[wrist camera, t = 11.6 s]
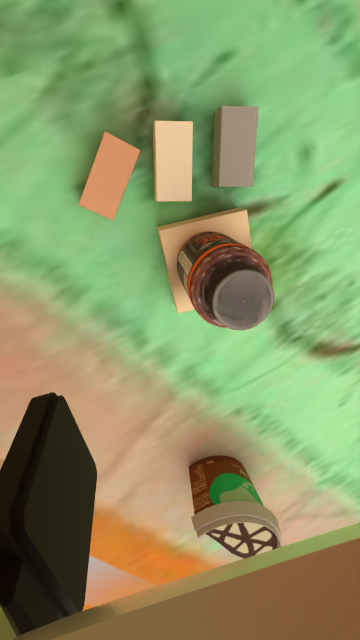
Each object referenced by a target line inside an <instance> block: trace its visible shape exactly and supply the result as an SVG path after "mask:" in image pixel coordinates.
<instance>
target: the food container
mask: <svg viewBox="0 0 360 640" xmlns="http://www.w3.org/2000/svg"><path fill="white" fill-rule="evenodd" d="M189 473H190V482H191V490H192V498H193V506H194V514H195V515H194V516H193V517H191V518H192V522H193V525H194V528H195V531H197V536H198V538H199V537H201V536H202V535H204V534H207V535H208V536H210V537H212V538H213V539H215V540H216V541H217V542H219V543H220V544H221V545H222V546H223V547H225V548H226V549H227V550H229V551H230V552H231V553H233V554H235V555H237V556H239V557H242V558H244V559H245V558H248V557H251V556H255V555H258V554H261V553H264V552H267V551H270V550H274V549H277V548H280V547H281V543H282V540H281V534H280V529H279V524H278V521H277V519H276V517H275V516H274V514H273V513H272V512H271V511H270V510H269V509H267V508H266V507H264V505H263V503H262V501H261V499H260V498H259V496H258V494H257V492H256V490H255V488H254V486H253V484H252V482H251V480H250V478H249V476H248V474H247V472H246V470H245V468H244V467H243V465H242V464H241V463H240V462H239V461H238V460H236V459H234V458H231V457H228V456H211V457H207V458H204V459H201V460H199V461H197V462H195V463H194V464H192V465H191V466H190V467H189Z"/></svg>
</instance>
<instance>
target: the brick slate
mask: <svg viewBox="0 0 360 640" xmlns="http://www.w3.org/2000/svg"><path fill="white" fill-rule="evenodd" d="M257 120H258V107H249V106H221V107H220V108H219V109H218V110H217V111H216V112H214V133H213V164H212V187H253V174H254V161H255V147H256V134H257Z"/></svg>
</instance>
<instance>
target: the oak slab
mask: <svg viewBox="0 0 360 640" xmlns="http://www.w3.org/2000/svg"><path fill="white" fill-rule="evenodd" d="M157 231H158V235H159V239H160V244H161V248H162V252H163V256H164V261H165V265H166V269H167V274H168V278H169V282H170V286H171V291H172V295H173V299H174V303H175V306H176V309H177V312H178V313H182V312H186V311H190V310H194V309H195V308H194V307H193V305H192V303H191V301H190V299H189V297H188V295H187V293H186V291H185V289H184V287H183V285H182V283H181V280H180V278H179V275H178V271H177V258H178V255H179V252H180V250H181V248H182V246H183V245H184V244H185V243H186V241H188V240H189V239H190V238H191V237H193V236H195V235H197V234H199V233H202V232H208V231H212V232H218V233H222V234H224V235H227V236H228V237H231V238H232V239H234V240H236V241H238V242H239V243H241V244H243V245H245V246H247V247H249V248H251V249H252V247H251V239H250V231H249V223H248V215H247V210H245V209H241V208H234V209H230V210H225V211H221V212H217V213H213V214H209V215H204V216H200V217H196V218H192V219H187V220H183V221H179V222H175V223H171V224H166V225H162V226H158V227H157Z"/></svg>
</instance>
